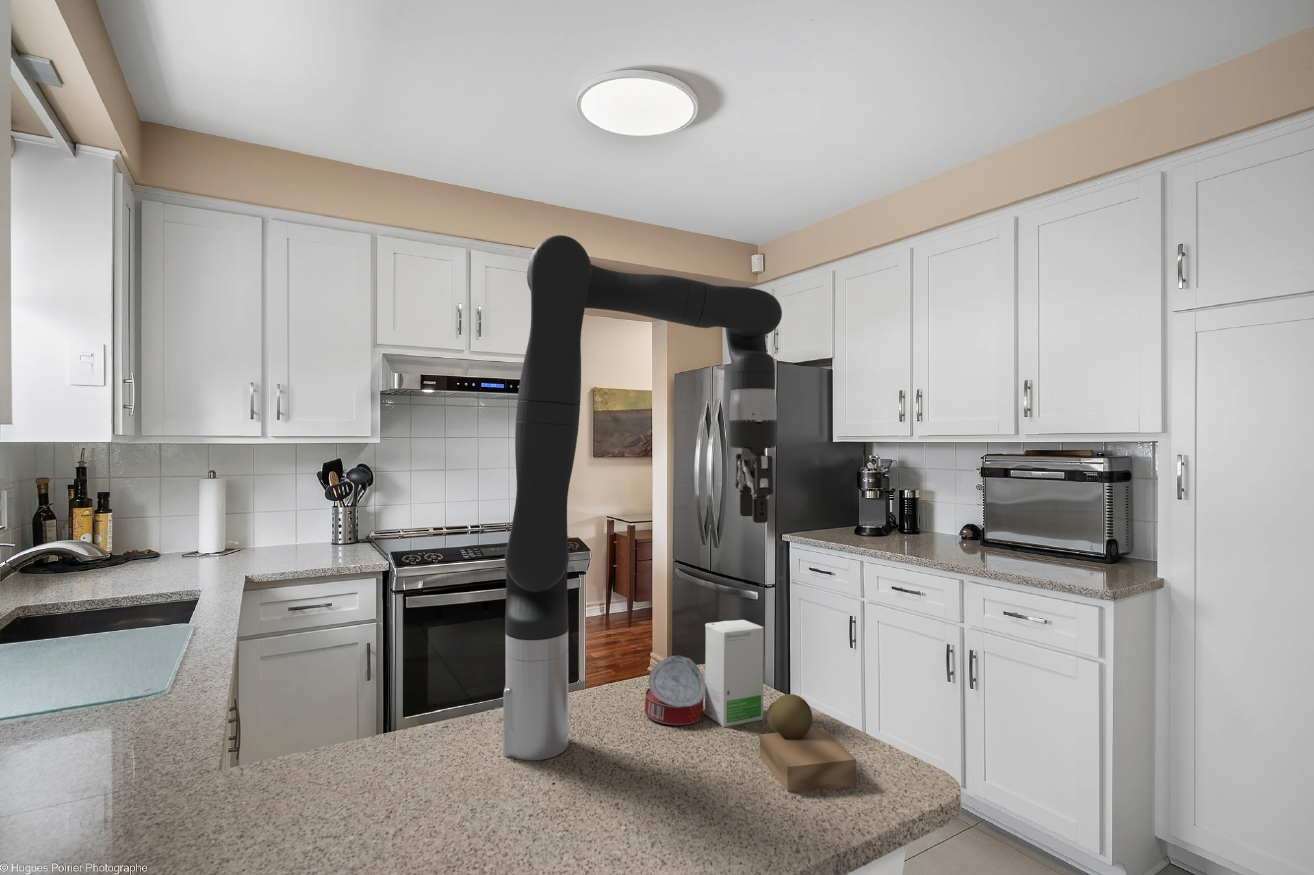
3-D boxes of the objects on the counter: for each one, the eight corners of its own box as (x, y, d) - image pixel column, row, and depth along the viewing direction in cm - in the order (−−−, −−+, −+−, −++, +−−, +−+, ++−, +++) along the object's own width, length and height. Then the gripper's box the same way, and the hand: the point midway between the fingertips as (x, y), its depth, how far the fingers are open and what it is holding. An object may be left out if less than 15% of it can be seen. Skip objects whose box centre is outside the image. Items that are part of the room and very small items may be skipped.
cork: (798, 686, 99) (787, 690, 109) (763, 706, 98) (755, 708, 108) (820, 726, 97) (807, 726, 107) (784, 746, 96) (774, 745, 106)
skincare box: (723, 729, 108) (723, 633, 108) (702, 714, 114) (702, 623, 114) (765, 719, 112) (765, 626, 112) (743, 705, 118) (743, 617, 118)
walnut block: (787, 797, 88) (787, 767, 88) (759, 761, 98) (759, 734, 98) (856, 788, 91) (856, 759, 91) (822, 754, 100) (822, 728, 100)
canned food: (698, 735, 115) (728, 689, 114) (670, 750, 107) (702, 700, 105) (651, 689, 121) (679, 645, 119) (621, 700, 112) (651, 652, 111)
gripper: (720, 419, 114) (720, 514, 114) (740, 417, 100) (740, 525, 100) (763, 419, 115) (763, 514, 115) (789, 417, 101) (789, 524, 101)
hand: (753, 519), depth 107 cm, fingers open, 8 cm apart
